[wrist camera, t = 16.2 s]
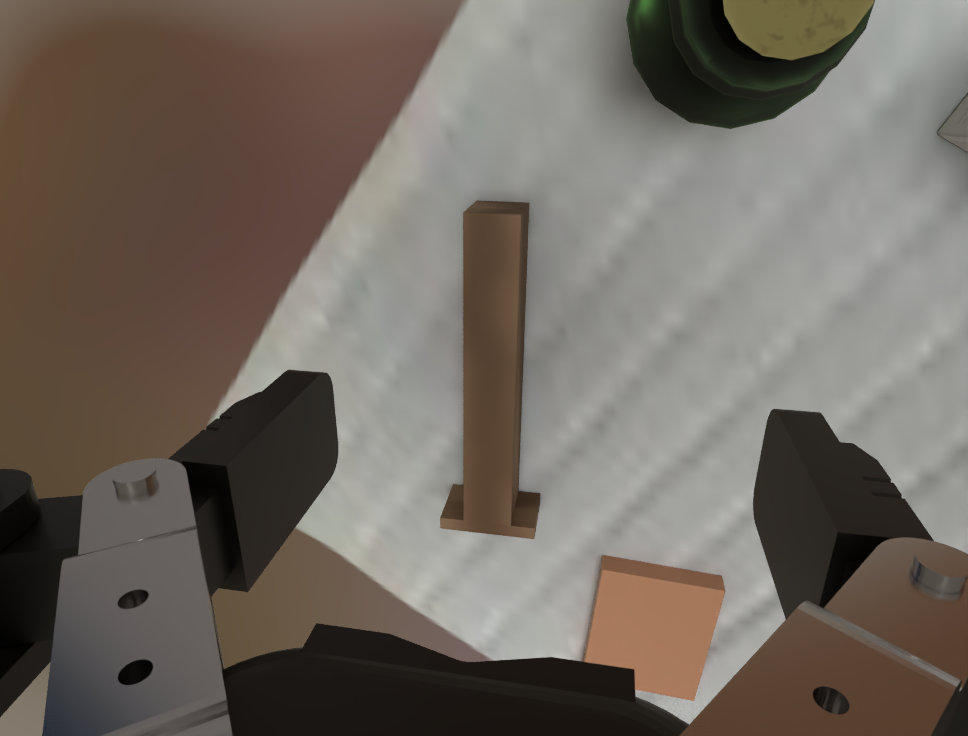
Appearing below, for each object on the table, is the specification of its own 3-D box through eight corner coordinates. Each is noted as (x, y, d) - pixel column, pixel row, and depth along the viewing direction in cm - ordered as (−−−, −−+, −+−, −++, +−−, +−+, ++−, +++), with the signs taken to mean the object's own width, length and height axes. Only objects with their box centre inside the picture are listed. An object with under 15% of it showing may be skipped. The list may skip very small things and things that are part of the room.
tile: (725, 591, 44) (693, 700, 48) (720, 571, 45) (690, 678, 49) (602, 569, 45) (581, 678, 49) (602, 550, 46) (582, 657, 50)
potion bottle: (831, 21, 32) (1064, -46, 16) (698, 152, 35) (774, 210, 19) (715, -110, 31) (836, -331, 14) (588, 38, 34) (568, -6, 18)
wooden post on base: (555, 203, 38) (550, 216, 34) (540, 502, 45) (534, 539, 42) (451, 199, 38) (435, 211, 35) (453, 493, 46) (440, 528, 43)
